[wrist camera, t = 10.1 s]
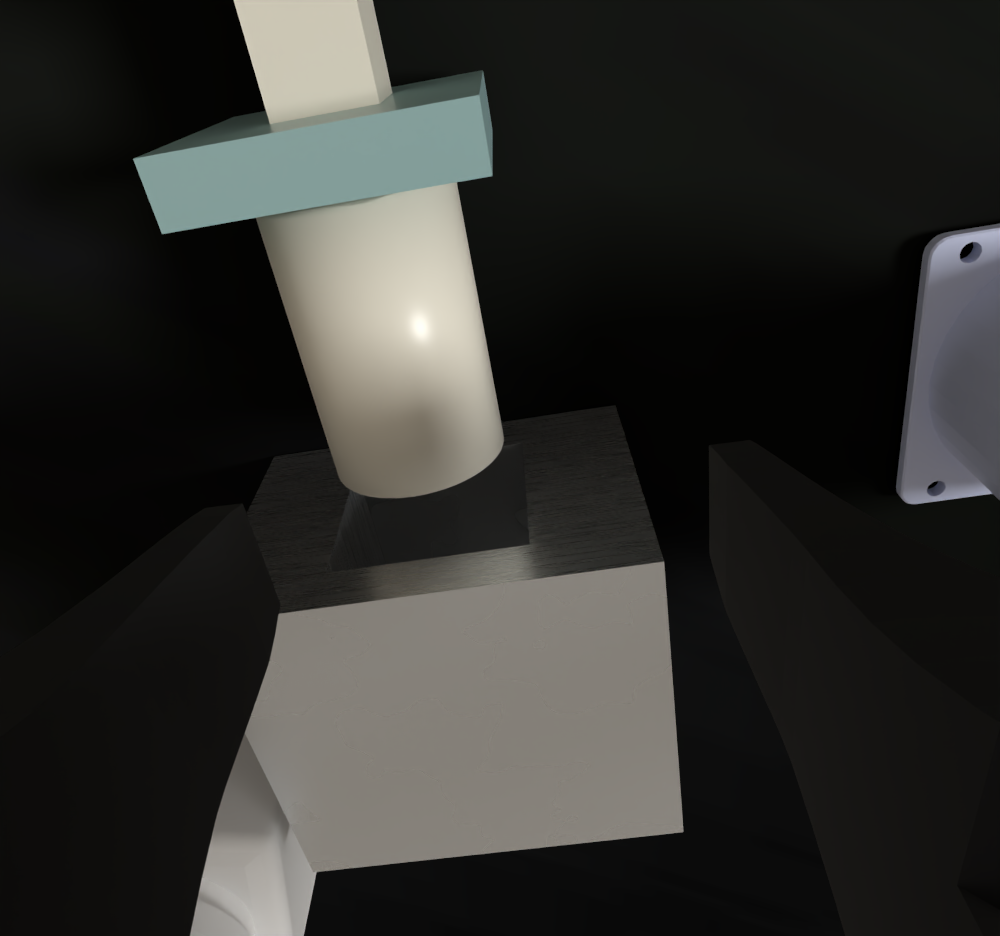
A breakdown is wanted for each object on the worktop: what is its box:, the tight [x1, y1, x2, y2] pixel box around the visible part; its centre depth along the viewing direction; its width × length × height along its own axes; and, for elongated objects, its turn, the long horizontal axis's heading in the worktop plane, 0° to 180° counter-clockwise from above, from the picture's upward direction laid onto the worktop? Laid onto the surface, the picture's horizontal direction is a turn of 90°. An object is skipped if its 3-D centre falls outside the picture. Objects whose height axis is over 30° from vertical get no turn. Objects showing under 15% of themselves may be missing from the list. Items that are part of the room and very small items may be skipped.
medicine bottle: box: [190, 734, 316, 936], centre depth 23 cm, size 7×7×12 cm
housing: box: [245, 405, 683, 872], centre depth 21 cm, size 10×9×7 cm
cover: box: [133, 0, 504, 498], centre depth 15 cm, size 6×14×6 cm, turn 9°
